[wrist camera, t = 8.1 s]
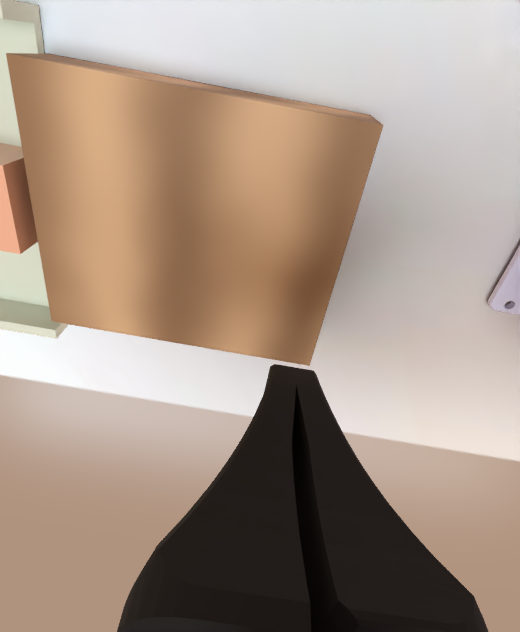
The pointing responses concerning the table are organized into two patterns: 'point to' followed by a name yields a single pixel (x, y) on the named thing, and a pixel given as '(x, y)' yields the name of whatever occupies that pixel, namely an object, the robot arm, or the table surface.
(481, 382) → the table surface
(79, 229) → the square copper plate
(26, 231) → the tile
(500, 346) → the table surface
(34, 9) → the tray
